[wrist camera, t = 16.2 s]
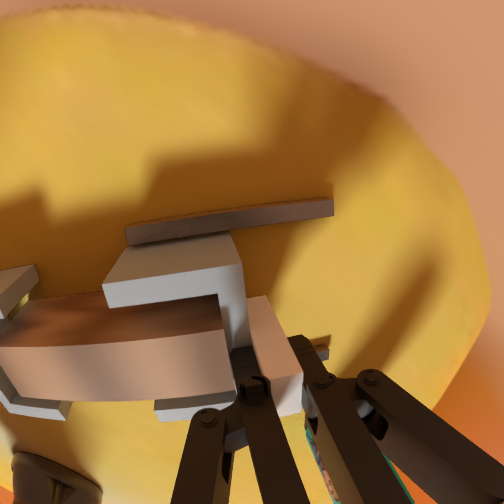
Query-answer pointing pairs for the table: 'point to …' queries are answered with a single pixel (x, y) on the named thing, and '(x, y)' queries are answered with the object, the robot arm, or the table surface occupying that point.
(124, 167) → the table surface
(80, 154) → the table surface
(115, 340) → the brown rectangular block
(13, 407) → the cap
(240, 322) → the cap
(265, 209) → the track
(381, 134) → the table surface
